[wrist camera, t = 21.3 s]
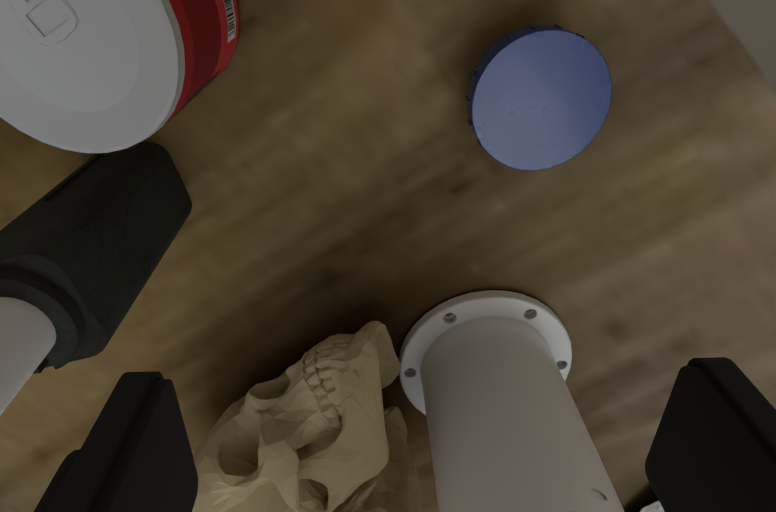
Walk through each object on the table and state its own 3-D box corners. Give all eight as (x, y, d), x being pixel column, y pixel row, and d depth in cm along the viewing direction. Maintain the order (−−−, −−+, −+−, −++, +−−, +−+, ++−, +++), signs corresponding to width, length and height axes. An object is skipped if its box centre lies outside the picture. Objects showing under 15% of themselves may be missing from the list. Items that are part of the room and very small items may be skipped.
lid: (621, 37, 26) (635, 42, 25) (571, 169, 30) (582, 181, 28) (485, 10, 25) (493, 14, 24) (451, 150, 29) (455, 161, 27)
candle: (122, 234, 33) (-313, 765, 12) (78, 159, 31) (-574, 661, 9) (198, 215, 33) (-109, 730, 11) (161, 137, 30) (-325, 613, 9)
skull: (335, 385, 24) (86, 558, 31) (553, 593, 29) (294, 707, 35) (370, 262, 37) (187, 404, 43) (518, 421, 41) (331, 528, 48)
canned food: (136, -128, 24) (-10, -173, 15) (275, 8, 27) (228, 43, 18) (52, 4, 27) (-118, 37, 17) (187, 115, 30) (106, 195, 20)
